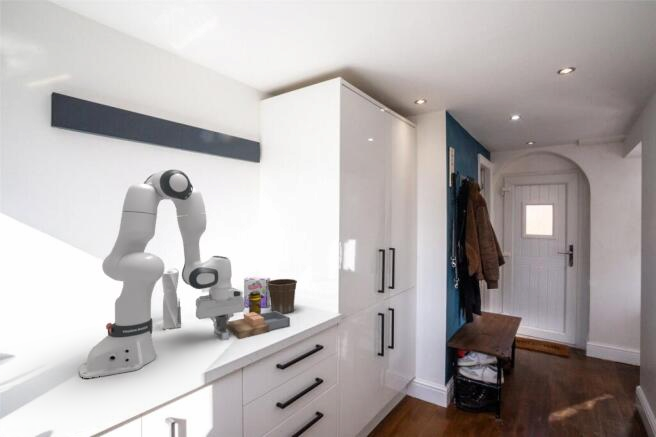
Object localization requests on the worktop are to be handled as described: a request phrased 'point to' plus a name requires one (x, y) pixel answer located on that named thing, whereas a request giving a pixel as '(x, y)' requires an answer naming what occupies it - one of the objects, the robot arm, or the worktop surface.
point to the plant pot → (282, 295)
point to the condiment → (255, 302)
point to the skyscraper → (171, 300)
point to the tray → (275, 320)
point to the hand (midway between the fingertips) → (221, 325)
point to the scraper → (221, 327)
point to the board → (245, 328)
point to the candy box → (257, 290)
